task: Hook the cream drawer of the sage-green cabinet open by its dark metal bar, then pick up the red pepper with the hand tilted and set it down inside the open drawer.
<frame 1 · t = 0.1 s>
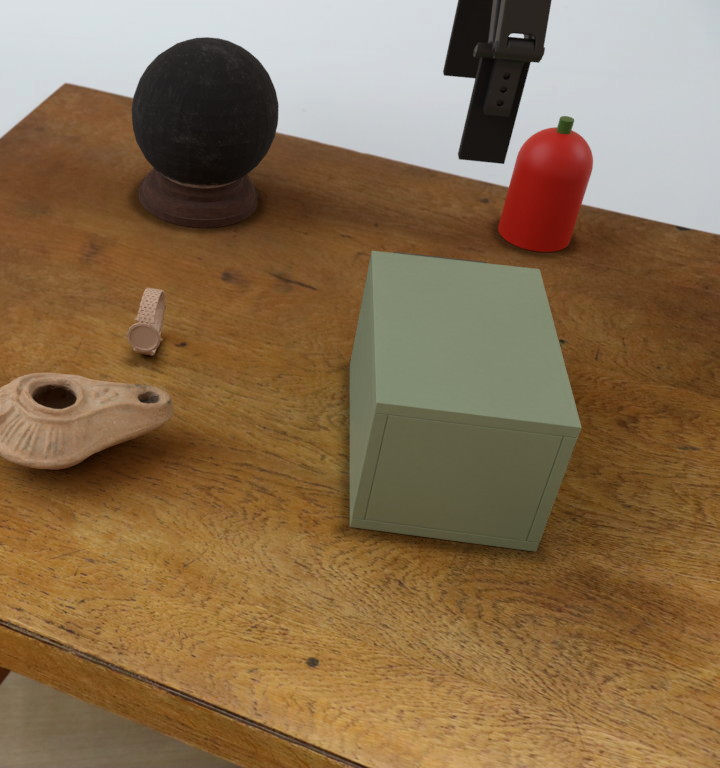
hand: (470, 114, 73), 20 cm above the table, tool pointing down, fingers open, 13 cm apart
pottery oil lamp: (78, 454, 75), on the table
drawer: (444, 354, 77), point 5 cm above the table, slide at 0.0 cm, touching cabinet
cabinet: (433, 449, 77), on the table
wristwatch: (149, 349, 85), on the table
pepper: (533, 234, 102), on the table
black ball on stand: (198, 200, 105), on the table
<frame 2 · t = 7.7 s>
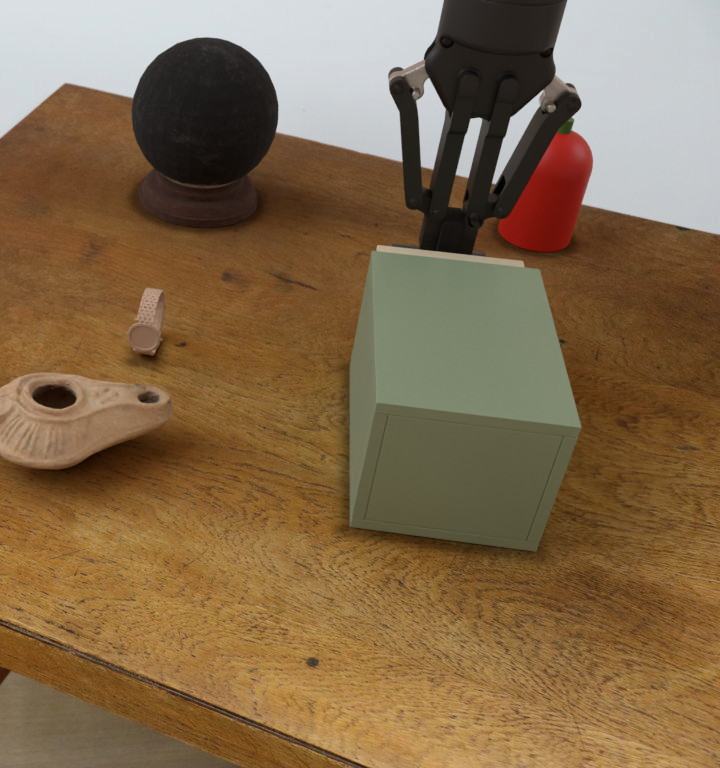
hand: (434, 291, 85), 5 cm above the table, tool pointing down, fingers closed
drawer: (443, 343, 78), point 5 cm above the table, slide at 1.3 cm
everything else where it was.
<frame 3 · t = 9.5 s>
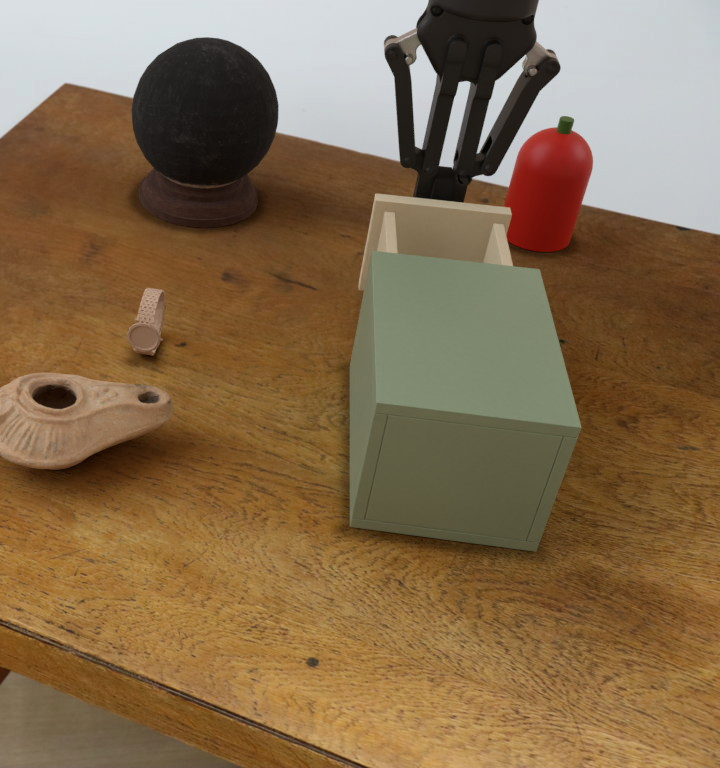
hand: (427, 245, 91), 4 cm above the table, tool pointing down, fingers closed
drawer: (436, 282, 85), point 5 cm above the table, slide at 9.5 cm, touching gripper
everything else where it was.
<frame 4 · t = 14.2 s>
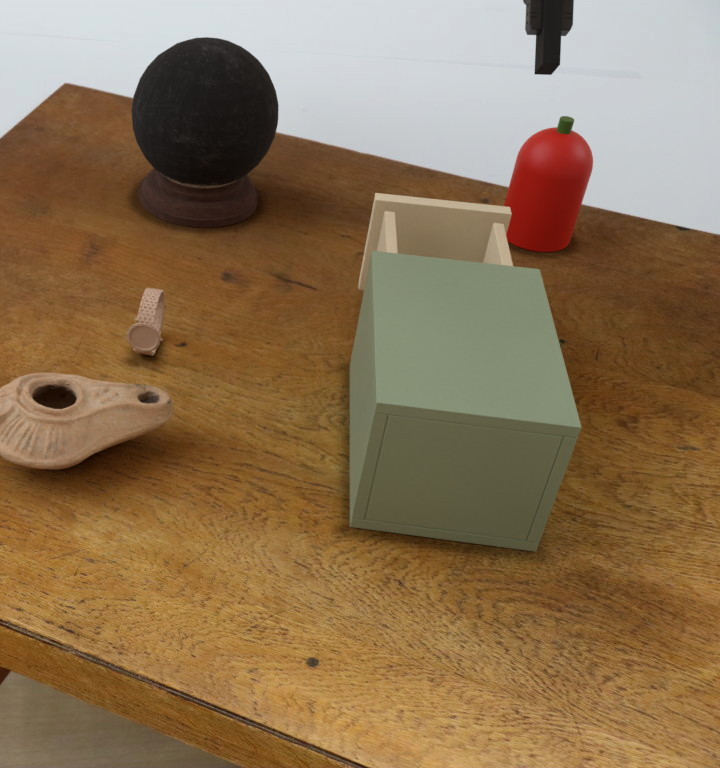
hand: (547, 69, 99), 13 cm above the table, tool tilted 40°, fingers closed
drawer: (436, 282, 85), point 5 cm above the table, slide at 9.6 cm
everything else where it was.
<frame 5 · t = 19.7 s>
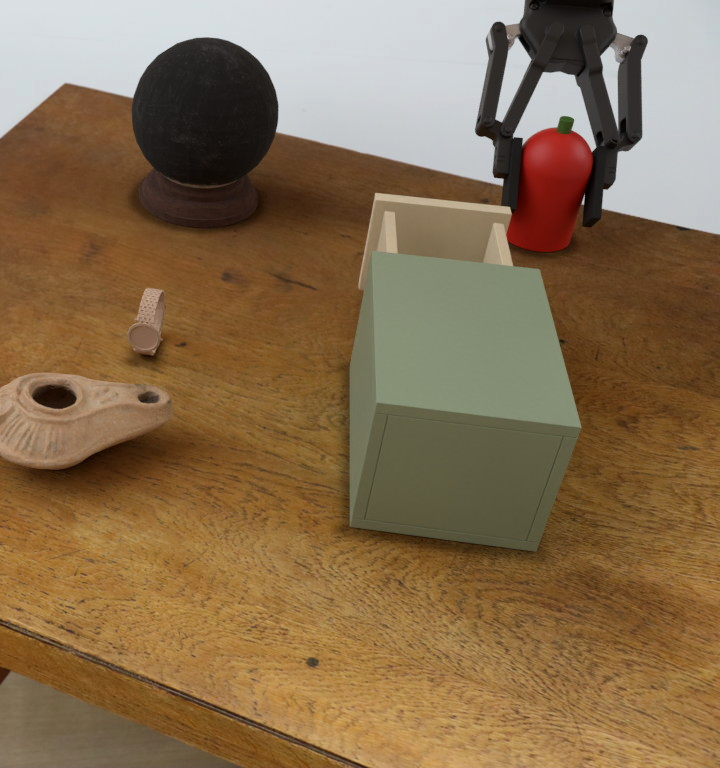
hand: (549, 217, 97), 4 cm above the table, tool tilted 45°, fingers closed on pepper, 6 cm apart
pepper: (533, 234, 102), on the table, touching gripper
everything else where it was.
when the fingers open (12 cm above the table, at t = 27.1 s): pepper stays where it is, resting on cabinet.
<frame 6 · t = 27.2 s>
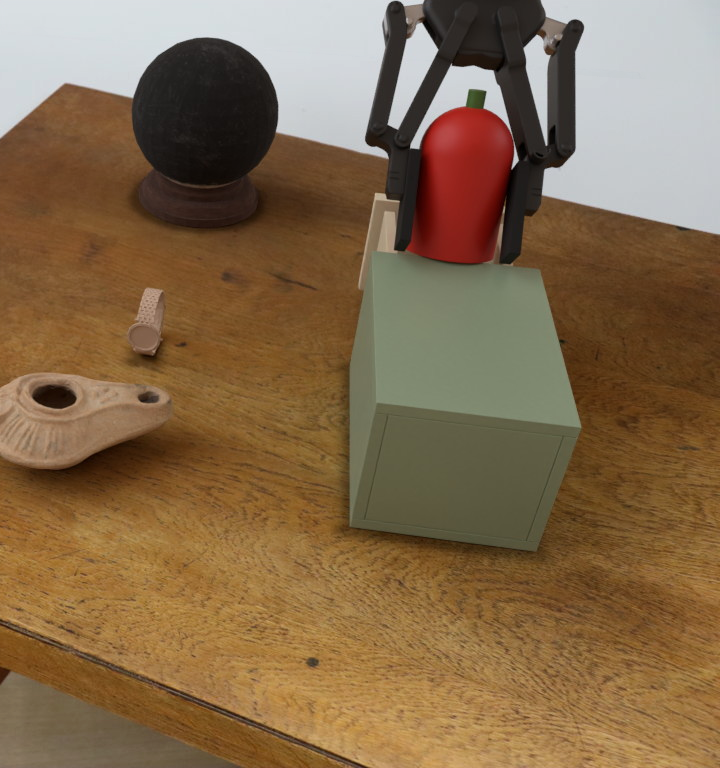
hand: (455, 251, 76), 11 cm above the table, tool tilted 45°, fingers open, 6 cm apart
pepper: (447, 251, 80), point 9 cm above the table, tilted 16°, touching cabinet
everything else where it was.
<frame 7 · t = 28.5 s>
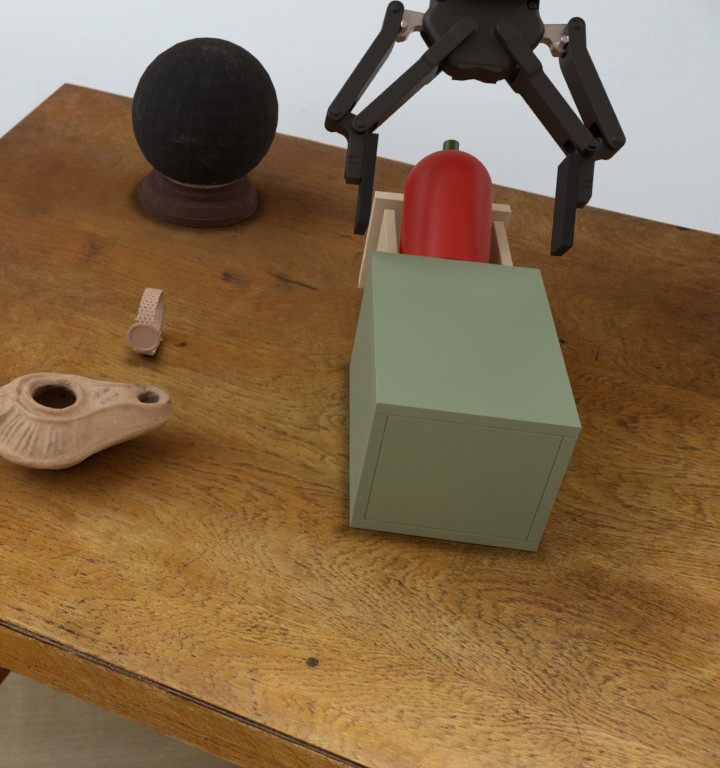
hand: (460, 240, 76), 12 cm above the table, tool tilted 45°, fingers open, 13 cm apart
drawer: (435, 280, 85), point 5 cm above the table, slide at 9.9 cm, touching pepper
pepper: (442, 277, 80), point 8 cm above the table, tilted 57°, touching cabinet, drawer
everything else where it was.
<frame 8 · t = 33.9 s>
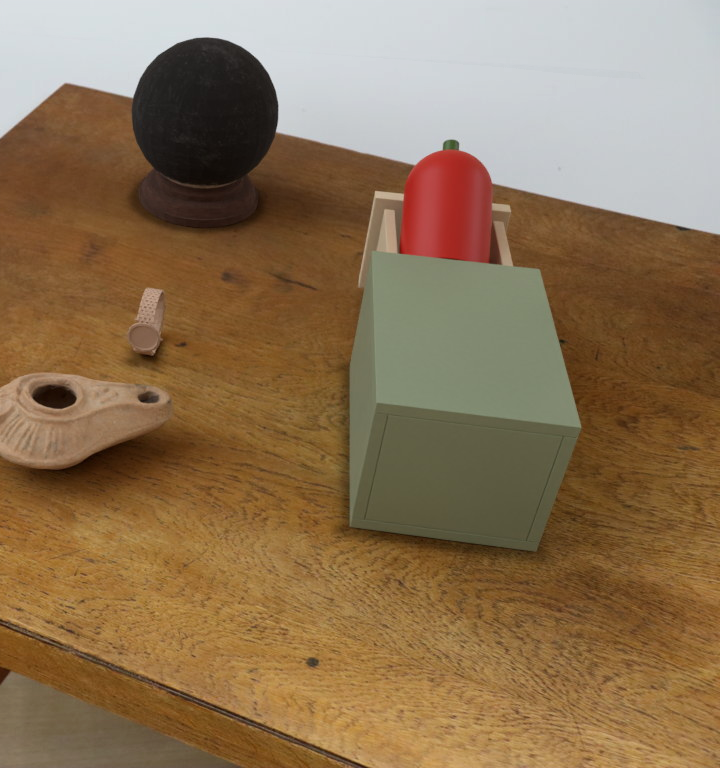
nothing on the table moved.
at the end: drawer slide at 9.9 cm; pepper inside the target area in the drawer (0.6 cm from its centre), point 7.5 cm above the cabinet's base; the gripper is holding nothing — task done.
